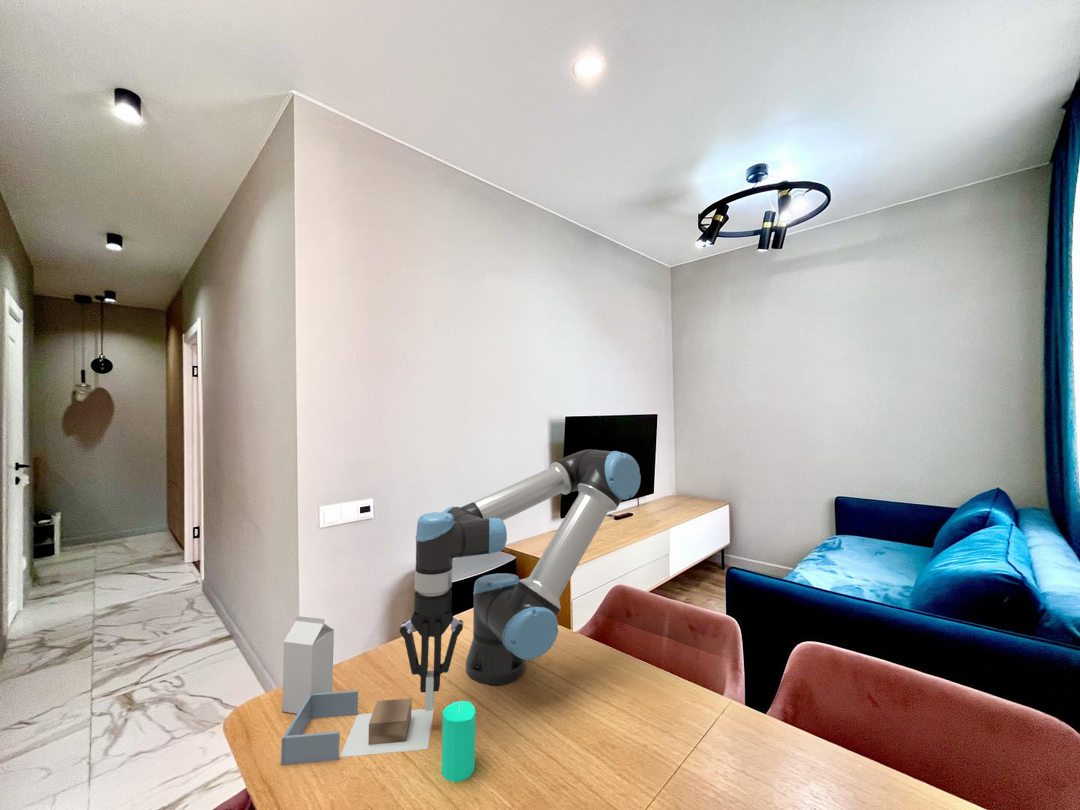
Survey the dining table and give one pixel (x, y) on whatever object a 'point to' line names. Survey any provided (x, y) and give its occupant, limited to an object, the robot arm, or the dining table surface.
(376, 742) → the brown block
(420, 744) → the runner mat
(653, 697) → the dining table surface
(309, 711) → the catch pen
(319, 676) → the milk carton
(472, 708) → the candle
